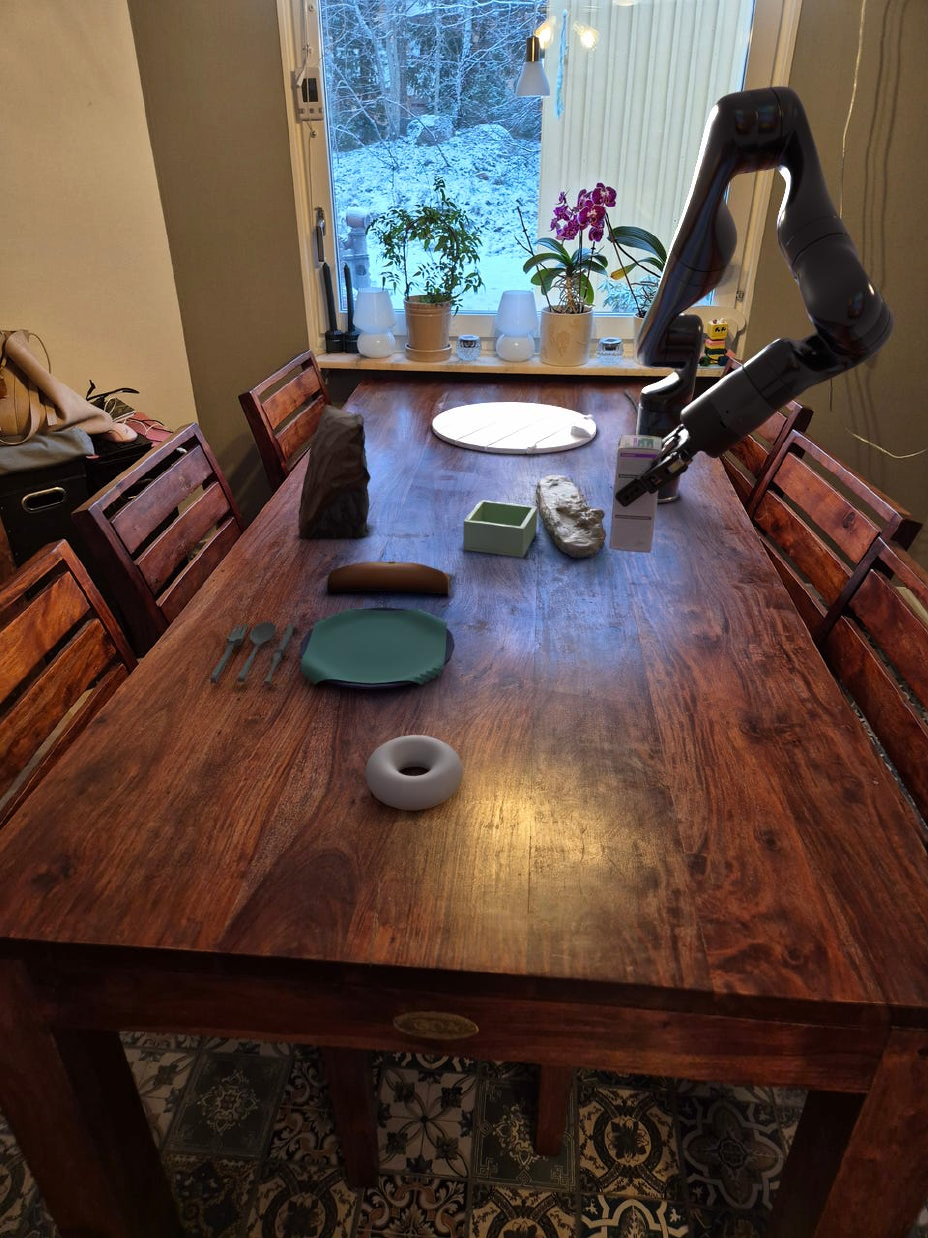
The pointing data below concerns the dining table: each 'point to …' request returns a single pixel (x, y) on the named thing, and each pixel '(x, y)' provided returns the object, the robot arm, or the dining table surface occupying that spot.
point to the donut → (413, 788)
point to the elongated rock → (570, 517)
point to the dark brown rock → (336, 479)
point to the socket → (500, 528)
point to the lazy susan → (514, 428)
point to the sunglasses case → (388, 578)
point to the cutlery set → (359, 648)
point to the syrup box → (638, 518)
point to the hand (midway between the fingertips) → (623, 492)
